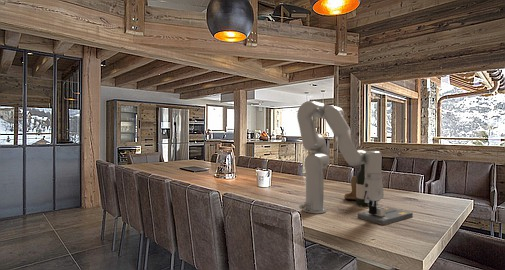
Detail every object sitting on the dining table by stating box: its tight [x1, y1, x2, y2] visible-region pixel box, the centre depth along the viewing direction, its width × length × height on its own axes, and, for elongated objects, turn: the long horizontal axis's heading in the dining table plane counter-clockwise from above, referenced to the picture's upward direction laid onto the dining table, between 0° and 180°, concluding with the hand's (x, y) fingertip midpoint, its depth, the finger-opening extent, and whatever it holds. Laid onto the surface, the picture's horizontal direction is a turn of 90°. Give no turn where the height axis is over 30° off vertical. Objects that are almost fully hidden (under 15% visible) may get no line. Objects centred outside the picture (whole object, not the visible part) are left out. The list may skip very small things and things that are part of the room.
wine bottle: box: [355, 164, 369, 208], centre depth 176 cm, size 8×8×30 cm
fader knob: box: [375, 205, 386, 216], centre depth 147 cm, size 4×6×4 cm, turn 33°
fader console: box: [357, 206, 413, 226], centre depth 151 cm, size 25×14×2 cm, turn 123°
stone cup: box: [344, 175, 357, 201], centre depth 189 cm, size 15×12×15 cm
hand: (372, 213), depth 145 cm, fingers closed
